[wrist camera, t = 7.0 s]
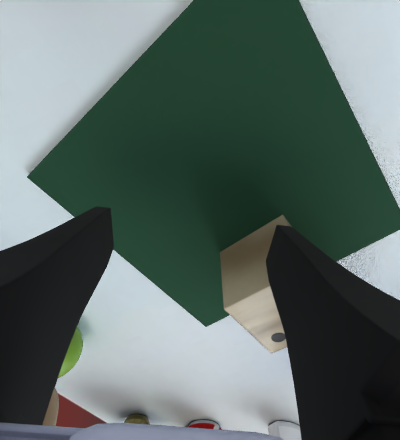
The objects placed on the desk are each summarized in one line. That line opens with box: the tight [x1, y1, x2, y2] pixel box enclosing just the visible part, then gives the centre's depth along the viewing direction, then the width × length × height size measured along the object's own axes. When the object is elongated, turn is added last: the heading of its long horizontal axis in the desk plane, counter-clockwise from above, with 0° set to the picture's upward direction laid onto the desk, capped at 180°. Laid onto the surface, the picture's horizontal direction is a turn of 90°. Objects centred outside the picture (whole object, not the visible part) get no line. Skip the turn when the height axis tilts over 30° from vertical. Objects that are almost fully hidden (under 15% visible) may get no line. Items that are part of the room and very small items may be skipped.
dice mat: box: [27, 0, 400, 327], centre depth 20 cm, size 21×20×1 cm
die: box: [220, 215, 292, 353], centre depth 20 cm, size 6×6×6 cm
